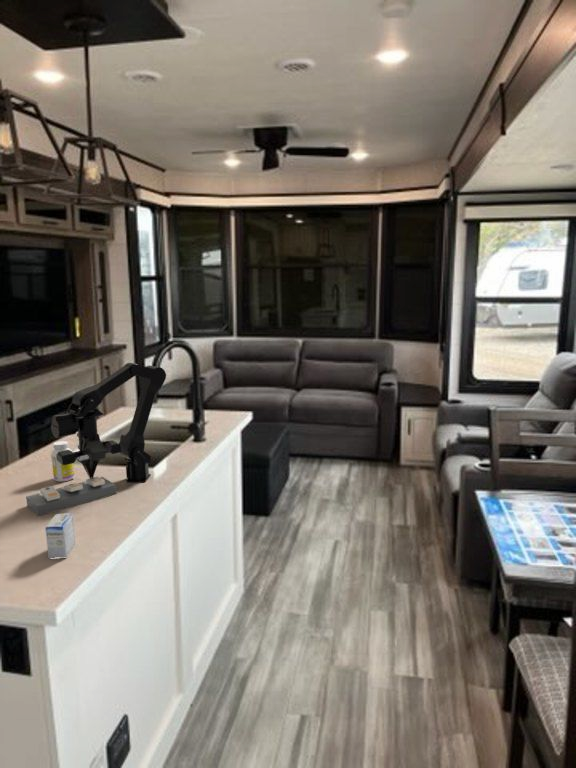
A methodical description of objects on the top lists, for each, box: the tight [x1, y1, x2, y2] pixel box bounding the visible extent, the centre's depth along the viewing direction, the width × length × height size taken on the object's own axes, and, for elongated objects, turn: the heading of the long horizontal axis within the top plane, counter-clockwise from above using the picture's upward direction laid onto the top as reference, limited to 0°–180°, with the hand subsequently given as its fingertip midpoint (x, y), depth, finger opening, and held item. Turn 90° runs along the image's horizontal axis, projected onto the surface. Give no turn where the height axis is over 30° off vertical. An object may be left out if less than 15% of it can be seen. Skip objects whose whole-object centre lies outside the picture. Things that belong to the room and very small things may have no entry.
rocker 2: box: [85, 476, 105, 487], centre depth 179 cm, size 6×4×1 cm, turn 41°
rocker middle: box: [63, 482, 83, 492], centre depth 175 cm, size 6×4×1 cm, turn 41°
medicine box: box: [45, 513, 76, 559], centre depth 143 cm, size 8×4×9 cm, turn 5°
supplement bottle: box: [50, 440, 75, 483], centre depth 194 cm, size 7×7×13 cm
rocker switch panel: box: [25, 476, 117, 517], centre depth 176 cm, size 24×10×4 cm, turn 131°
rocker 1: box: [39, 485, 60, 501], centre depth 170 cm, size 6×4×1 cm, turn 42°
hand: (91, 477), depth 182 cm, fingers closed, pressing on rocker 2
